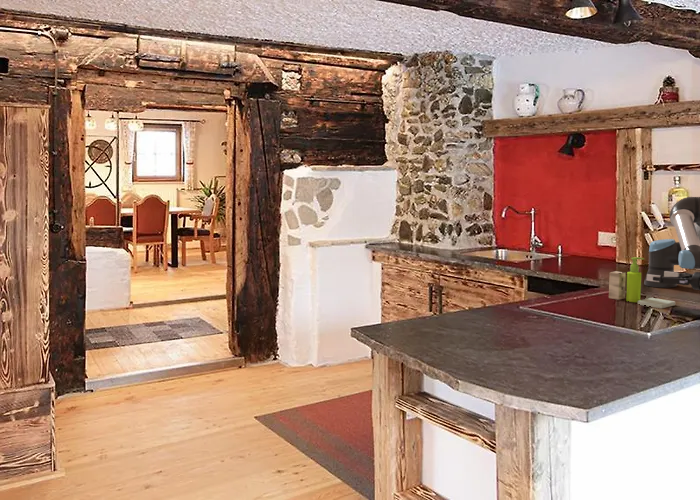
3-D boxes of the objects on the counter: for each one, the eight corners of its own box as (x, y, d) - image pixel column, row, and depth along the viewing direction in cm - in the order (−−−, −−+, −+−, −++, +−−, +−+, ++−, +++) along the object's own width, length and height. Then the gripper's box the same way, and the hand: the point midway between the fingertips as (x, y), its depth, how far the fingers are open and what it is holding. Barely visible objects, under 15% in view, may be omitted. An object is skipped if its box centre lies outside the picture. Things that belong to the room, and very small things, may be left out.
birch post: (615, 296, 313) (615, 270, 311) (625, 298, 308) (626, 272, 307) (608, 297, 310) (609, 271, 308) (618, 299, 305) (619, 273, 304)
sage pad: (651, 301, 301) (651, 297, 301) (675, 305, 292) (675, 301, 292) (637, 304, 295) (637, 300, 294) (661, 308, 286) (661, 304, 285)
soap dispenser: (644, 302, 298) (645, 258, 296) (627, 302, 300) (629, 258, 297) (641, 299, 304) (642, 256, 301) (625, 299, 305) (626, 256, 303)
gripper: (687, 294, 268) (639, 287, 285) (719, 287, 282) (671, 281, 299) (688, 275, 267) (639, 270, 284) (720, 269, 281) (671, 264, 299)
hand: (655, 275), depth 292 cm, fingers open, 13 cm apart
